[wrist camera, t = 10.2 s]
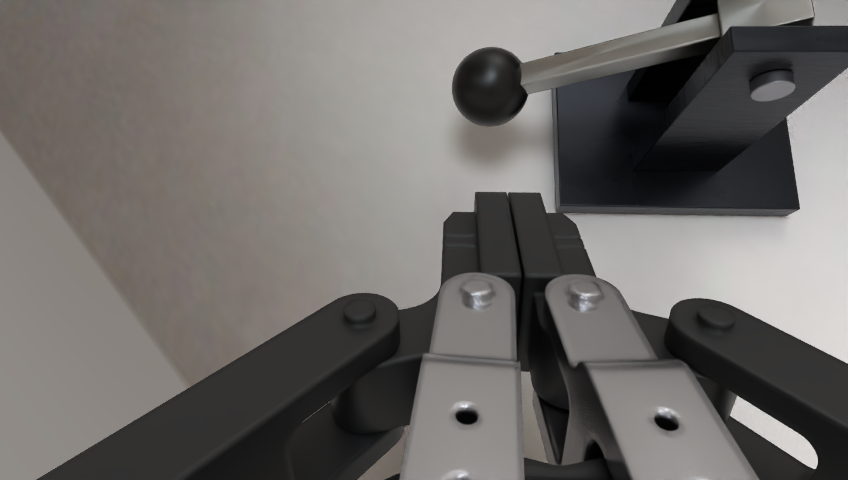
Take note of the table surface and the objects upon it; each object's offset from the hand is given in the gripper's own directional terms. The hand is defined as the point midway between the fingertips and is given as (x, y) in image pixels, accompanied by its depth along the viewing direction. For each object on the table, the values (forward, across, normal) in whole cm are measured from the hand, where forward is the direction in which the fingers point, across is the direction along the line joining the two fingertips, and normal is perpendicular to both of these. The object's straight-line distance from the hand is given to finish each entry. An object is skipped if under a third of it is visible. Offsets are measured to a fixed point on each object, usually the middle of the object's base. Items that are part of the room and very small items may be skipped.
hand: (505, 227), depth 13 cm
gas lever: (+14, +6, 0) cm, 15 cm away
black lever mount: (+18, +10, -4) cm, 21 cm away
